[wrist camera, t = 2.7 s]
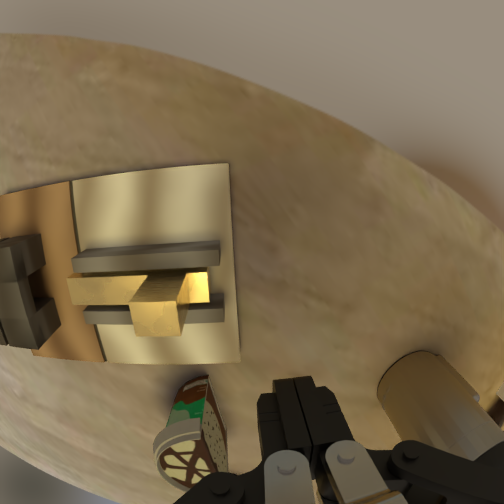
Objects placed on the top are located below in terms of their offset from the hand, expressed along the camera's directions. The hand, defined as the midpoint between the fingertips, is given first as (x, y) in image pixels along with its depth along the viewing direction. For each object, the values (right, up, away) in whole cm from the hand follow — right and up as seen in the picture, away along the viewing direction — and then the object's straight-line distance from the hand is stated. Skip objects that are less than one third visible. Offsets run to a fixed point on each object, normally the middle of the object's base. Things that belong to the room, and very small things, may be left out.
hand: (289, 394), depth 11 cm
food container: (-8, -12, +21) cm, 25 cm away
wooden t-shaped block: (-11, +3, +14) cm, 18 cm away
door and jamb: (-15, +4, +16) cm, 22 cm away
